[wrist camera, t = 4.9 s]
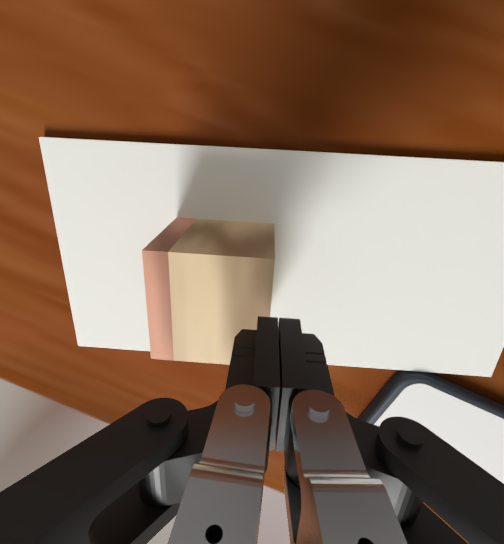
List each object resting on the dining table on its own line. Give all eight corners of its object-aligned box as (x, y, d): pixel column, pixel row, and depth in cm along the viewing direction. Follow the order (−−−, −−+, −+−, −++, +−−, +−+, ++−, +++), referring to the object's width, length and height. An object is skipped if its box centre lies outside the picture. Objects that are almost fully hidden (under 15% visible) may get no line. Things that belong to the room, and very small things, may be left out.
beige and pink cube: (274, 259, 13) (141, 250, 13) (265, 367, 15) (151, 358, 15) (274, 223, 17) (176, 217, 17) (267, 309, 19) (179, 303, 19)
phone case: (329, 442, 24) (512, 518, 26) (333, 462, 23) (526, 541, 25) (401, 352, 21) (606, 445, 23) (411, 369, 20) (629, 468, 21)
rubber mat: (571, 165, 16) (578, 166, 15) (487, 372, 20) (491, 376, 20) (44, 136, 16) (38, 136, 16) (81, 341, 21) (78, 345, 21)
